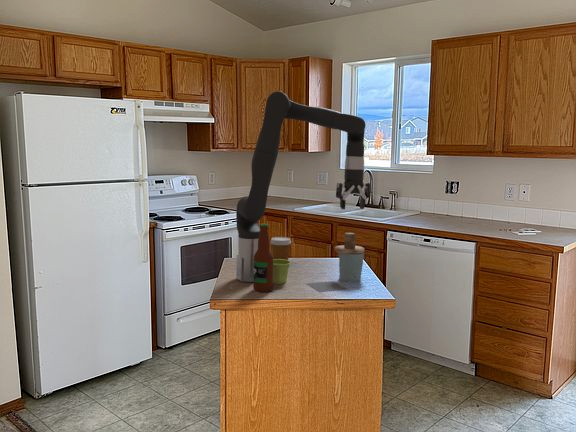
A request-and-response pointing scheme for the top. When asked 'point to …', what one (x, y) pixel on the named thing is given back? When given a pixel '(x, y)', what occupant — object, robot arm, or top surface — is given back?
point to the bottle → (263, 263)
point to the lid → (349, 245)
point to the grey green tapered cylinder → (350, 267)
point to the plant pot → (280, 270)
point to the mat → (326, 286)
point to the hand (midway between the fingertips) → (352, 208)
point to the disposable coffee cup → (280, 247)
